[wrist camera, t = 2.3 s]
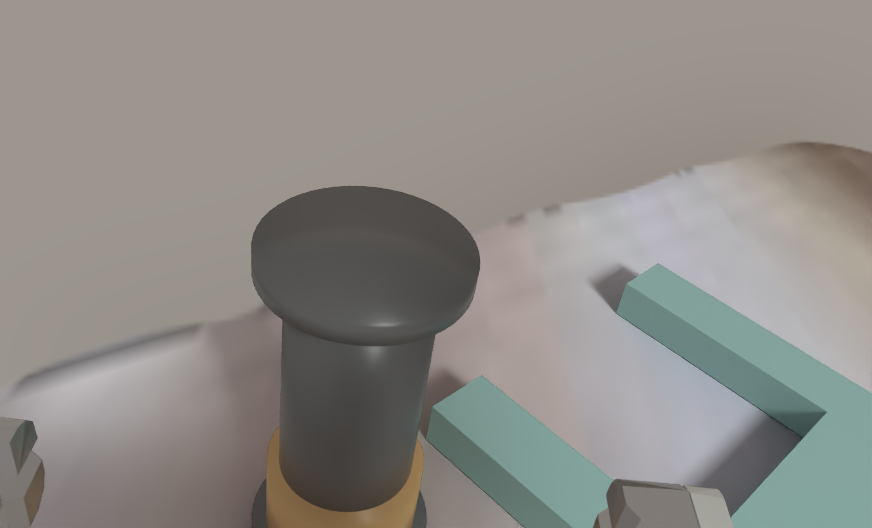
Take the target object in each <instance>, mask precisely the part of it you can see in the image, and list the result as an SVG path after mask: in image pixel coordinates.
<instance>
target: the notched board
mask: <svg viewBox="0 0 872 528" xmlns="http://www.w3.org/2000/svg"><path fill="white" fill-rule="evenodd" d="M616 313H617V314H618V315H620V316H621V317H623V318H624V319H626V320H627V321H629V322H630V323H632V324H633V325H635V326H636V327H638V328H639V329H641V330H642V331H644V332H645V333H647V334H648V335H650V336H651V337H653V338H654V339H656V340H657V341H659V342H660V343H662V344H663V345H665V346H666V347H668V348H669V349H671V350H672V351H674V352H675V353H677V354H678V355H680V356H681V357H683V358H684V359H686V360H687V361H689V362H690V363H692V364H693V365H695V366H696V367H698V368H699V369H701V370H702V371H704V372H705V373H707V374H708V375H710V376H711V377H713V378H714V379H716V380H717V381H719V382H720V383H722V384H723V385H725V386H726V387H728V388H729V389H731V390H732V391H734V392H735V393H737V394H738V395H740V396H741V397H743V398H744V399H746V400H747V401H749V402H750V403H752V404H753V405H755V406H756V407H758V408H759V409H761V410H762V411H764V412H765V413H767V414H768V415H770V416H771V417H773V418H774V419H776V420H777V421H779V422H780V423H782V424H783V425H785V426H786V427H788V428H789V429H791V430H792V431H794V432H795V433H797V434H798V435H800V436H801V437H803V439H802V440H801V441H800V442H799V443H798V444H797V446H796V447H795V448H794V449H793V450H792V451H791V452H790V453H789V454H788V455H787V456H786V458H785V459H784V460H783V461H782V462H781V463H780V464H779V465H778V466H777V467H776V468H775V470H774V471H773V472H772V473H771V474H770V475H769V476H768V477H767V478H766V479H765V480H764V482H763V483H762V484H761V485H760V486H759V487H758V488H757V489H756V490H755V491H754V492H753V494H752V495H751V496H750V497H749V498H748V499H747V500H746V501H745V502H744V503H743V505H742V506H741V507H740V508H739V509H738V510H737V511H736V512H735V513H734V514H733V515H732V517H731V520H732V523H733V526H734V528H872V393H870V392H869V391H867V390H865V389H864V388H862V387H860V386H859V385H857V384H856V383H854V382H852V381H851V380H849V379H847V378H846V377H844V376H842V375H841V374H839V373H837V372H836V371H834V370H833V369H831V368H829V367H828V366H826V365H824V364H823V363H821V362H819V361H818V360H816V359H814V358H813V357H811V356H810V355H808V354H806V353H805V352H803V351H801V350H800V349H798V348H796V347H795V346H793V345H792V344H790V343H788V342H787V341H785V340H783V339H782V338H780V337H778V336H777V335H775V334H773V333H772V332H770V331H769V330H767V329H765V328H764V327H762V326H760V325H759V324H757V323H755V322H754V321H752V320H750V319H749V318H747V317H746V316H744V315H742V314H741V313H739V312H737V311H736V310H734V309H732V308H731V307H729V306H727V305H726V304H724V303H723V302H721V301H719V300H718V299H716V298H714V297H713V296H711V295H709V294H708V293H706V292H704V291H703V290H701V289H700V288H698V287H696V286H695V285H693V284H691V283H690V282H688V281H686V280H685V279H683V278H681V277H680V276H678V275H677V274H675V273H673V272H672V271H670V270H668V269H667V268H665V267H663V266H662V265H660V264H656V265H655V266H653V267H652V268H650V269H648V270H647V271H645V272H644V273H642V274H640V275H639V276H637V277H636V278H634V279H633V280H631V281H629V282H628V283H626V286H625V289H624V292H623V295H622V297H621V300H620V303H619V306H618V309H617V312H616ZM426 440H428V441H429V442H430V443H431V444H432V445H433V446H434V447H435V448H436V449H438V450H439V451H440V452H441V453H442V454H443V455H444V456H445V457H447V458H448V459H449V460H450V461H451V462H452V463H453V464H454V465H455V466H457V467H458V468H459V469H460V470H461V471H462V472H463V473H464V474H465V475H467V476H468V477H469V478H470V479H471V480H472V481H473V482H474V483H476V484H477V485H478V486H479V487H480V488H481V489H482V490H483V491H484V492H486V493H487V494H488V495H489V496H490V497H491V498H492V499H493V500H494V501H496V502H497V503H498V504H499V505H500V506H501V507H502V508H503V509H505V510H506V511H507V512H508V513H509V514H510V515H511V516H512V517H513V518H515V519H516V520H517V521H518V522H519V523H520V524H521V525H522V526H523V527H525V528H593V526H594V523H595V520H596V517H597V515H598V513H600V512H602V511H603V510H605V509H607V508H608V504H607V498H606V493H607V491H608V489H609V486H610V484H611V483H612V482H613V481H614V480H613V479H611V478H610V477H609V476H608V475H606V474H605V473H604V472H603V471H601V470H600V469H599V468H598V467H596V466H595V465H594V464H593V463H591V462H590V461H589V460H588V459H586V458H585V457H584V456H583V455H581V454H580V453H579V452H578V451H576V450H575V449H574V448H572V447H571V446H570V445H569V444H567V443H566V442H565V441H564V440H562V439H561V438H560V437H559V436H557V435H556V434H555V433H554V432H552V431H551V430H550V429H549V428H547V427H546V426H545V425H544V424H542V423H541V422H540V421H539V420H537V419H536V418H535V417H534V416H532V415H531V414H530V413H529V412H527V411H526V410H525V409H524V408H522V407H521V406H520V405H519V404H517V403H516V402H515V401H514V400H512V399H511V398H510V397H509V396H507V395H506V394H505V393H504V392H502V391H501V390H500V389H499V388H497V387H496V386H495V385H494V384H492V383H491V382H490V381H489V380H487V379H486V378H485V377H484V376H482V375H481V376H480V377H478V378H476V379H475V380H473V381H472V382H470V383H469V384H467V385H465V386H464V387H462V388H461V389H459V390H457V391H456V392H454V393H453V394H451V395H450V396H448V397H446V398H445V399H443V400H442V401H440V402H439V403H437V404H435V405H434V406H432V410H431V415H430V421H429V426H428V431H427V436H426Z"/></svg>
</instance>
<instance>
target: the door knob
mask: <svg viewBox="0 0 872 528" xmlns="http://www.w3.org/2000/svg"><path fill="white" fill-rule="evenodd" d="M251 244H252V245H251V249H252V250H251V253H252V254H251V257H252V258H251V259H252V260H251V264H252V265H251V267H252V279H253V283H254V286H255V288H256V291H257V293H258V295H259V296H260V298H261V299H262V301H263V302H264V303H265V305H266V306H267V307H268V308H269V309H270V310H271V311H272V312H273V313H274V314H276V315H277V316H278V317H280V318H281V319H282V320H283V325H282V361H281V398H280V426H279V427H278V428H277V430H276V431H275V433H274V434H273V436H272V438H271V441H270V444H269V447H268V452H267V477H266V479H265V480H264V482H263V483H262V485H261V486H260V488H259V491H258V493H257V495H256V498H255V501H254V504H253V511H252V528H426V508H425V503H424V500H423V497H422V494H421V492H420V490H419V489H420V484H421V478H422V473H423V466H424V459H423V452H422V447H421V445H420V442H419V440H418V438H417V435H418V430H419V424H420V418H421V413H422V407H423V401H424V396H425V390H426V385H427V379H428V373H429V368H430V362H431V356H432V351H433V345H434V340H435V334H437V333H439V332H441V331H443V330H445V329H446V328H448V327H450V326H451V325H453V324H454V323H455V322H456V321H457V320H458V319H460V318H461V317H462V316H463V314H464V313H465V312H466V311H467V309H468V308H469V306H470V304H471V302H472V300H473V297H474V293H475V289H476V284H477V279H478V275H479V270H480V256H479V251H478V248H477V245H476V243H475V241H474V239H473V237H472V236H471V234H470V233H469V232H468V230H467V229H466V228H465V227H464V226H463V225H462V224H461V223H460V222H459V221H458V220H457V219H456V218H454V217H453V216H452V215H450V214H449V213H448V212H446V211H444V210H443V209H441V208H439V207H438V206H436V205H434V204H432V203H430V202H428V201H425V200H423V199H420V198H418V197H415V196H412V195H409V194H406V193H403V192H398V191H394V190H389V189H383V188H376V187H366V186H341V187H331V188H323V189H318V190H314V191H310V192H306V193H303V194H300V195H297V196H295V197H292V198H290V199H288V200H286V201H284V202H282V203H281V204H279V205H277V206H276V207H275V208H273V209H272V210H270V211H269V212H268V213H267V214H266V215H265V216H264V217H263V218H262V220H261V221H260V222H259V224H258V225H257V227H256V230H255V232H254V234H253V238H252V243H251Z"/></svg>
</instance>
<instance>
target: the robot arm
mask: <svg viewBox="0 0 872 528" xmlns="http://www.w3.org/2000/svg"><path fill="white" fill-rule="evenodd" d="M36 440H37V435H36V431H35V427H34V424H33V422H32V421H27V420H20V419H12V418H4V417H0V528H29V527H30V526H31V524H32V522H33V520H34V518H35V515H36V513H37V511H38V509H39V505H40V501H41V497H42V493H43V489H44V467H43V462H42V459H41V458H40V457H39V456H38V455H36V454H35V453H34V452H33V451H32V450H31V449H32V448H33V446H34V444H35V442H36ZM606 498H607V504H608V508H607V509H605V510H603V511H602V512H600V513H598V515H597V517H596V520H595V523H594V526H593V528H734V526H733V523H732V520H731V517H730V514H729V511H728V508H727V505H726V502H725V499H724V496H723V495H722V493H721V492H720V491H719V490H718V489H712V488H702V487H693V486H681V485H680V484H668V483H657V482H646V481H634V480H623V479H615V480H614V481H613V482H612V483H611V484H610V486H609V489H608V491H607V493H606Z"/></svg>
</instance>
